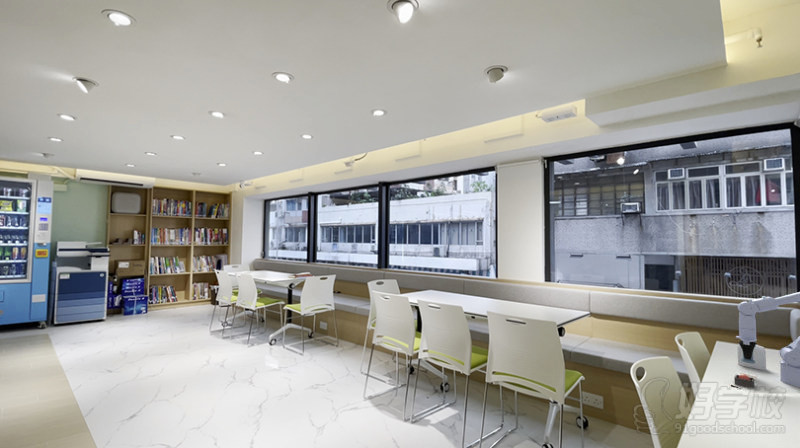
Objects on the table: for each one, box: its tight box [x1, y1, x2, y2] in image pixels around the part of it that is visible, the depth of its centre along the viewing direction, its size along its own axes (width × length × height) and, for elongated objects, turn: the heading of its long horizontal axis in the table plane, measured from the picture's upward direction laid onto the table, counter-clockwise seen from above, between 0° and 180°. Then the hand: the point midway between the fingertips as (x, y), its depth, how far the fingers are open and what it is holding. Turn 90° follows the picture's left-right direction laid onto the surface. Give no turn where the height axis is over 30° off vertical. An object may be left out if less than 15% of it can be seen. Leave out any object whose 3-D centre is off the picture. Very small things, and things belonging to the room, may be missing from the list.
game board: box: [730, 371, 758, 390], centre depth 165 cm, size 26×8×4 cm, turn 133°
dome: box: [739, 374, 751, 381], centre depth 158 cm, size 4×4×4 cm
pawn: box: [741, 353, 755, 363], centre depth 171 cm, size 5×5×7 cm
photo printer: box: [737, 343, 767, 371], centre depth 185 cm, size 10×4×12 cm, turn 39°
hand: (748, 358), depth 171 cm, fingers closed on pawn, 3 cm apart
